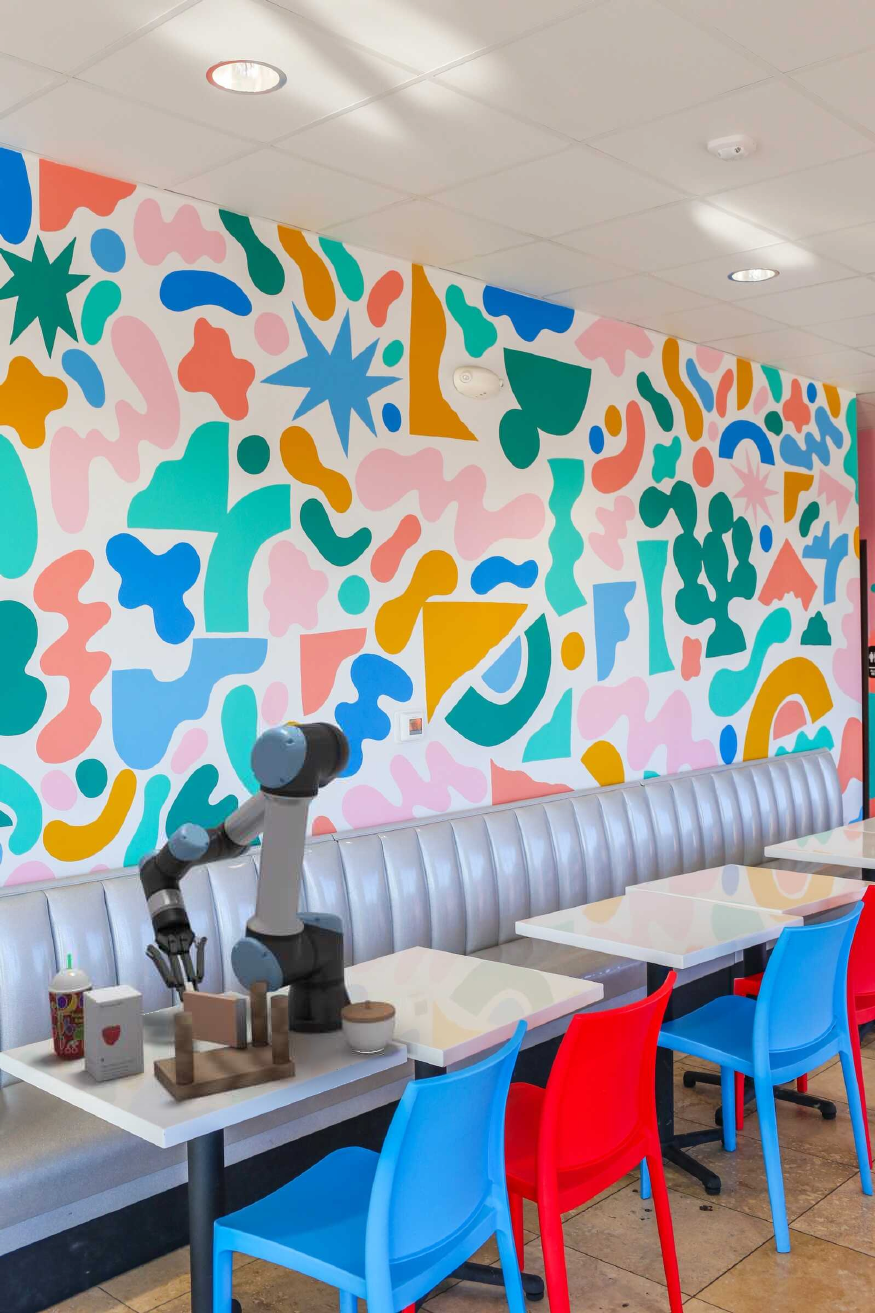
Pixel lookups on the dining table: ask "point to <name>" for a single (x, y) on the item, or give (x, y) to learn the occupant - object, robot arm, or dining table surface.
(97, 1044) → the supplement box
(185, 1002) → the leg panel
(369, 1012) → the lidded jar
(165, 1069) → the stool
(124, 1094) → the dining table surface
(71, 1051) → the smoothie
